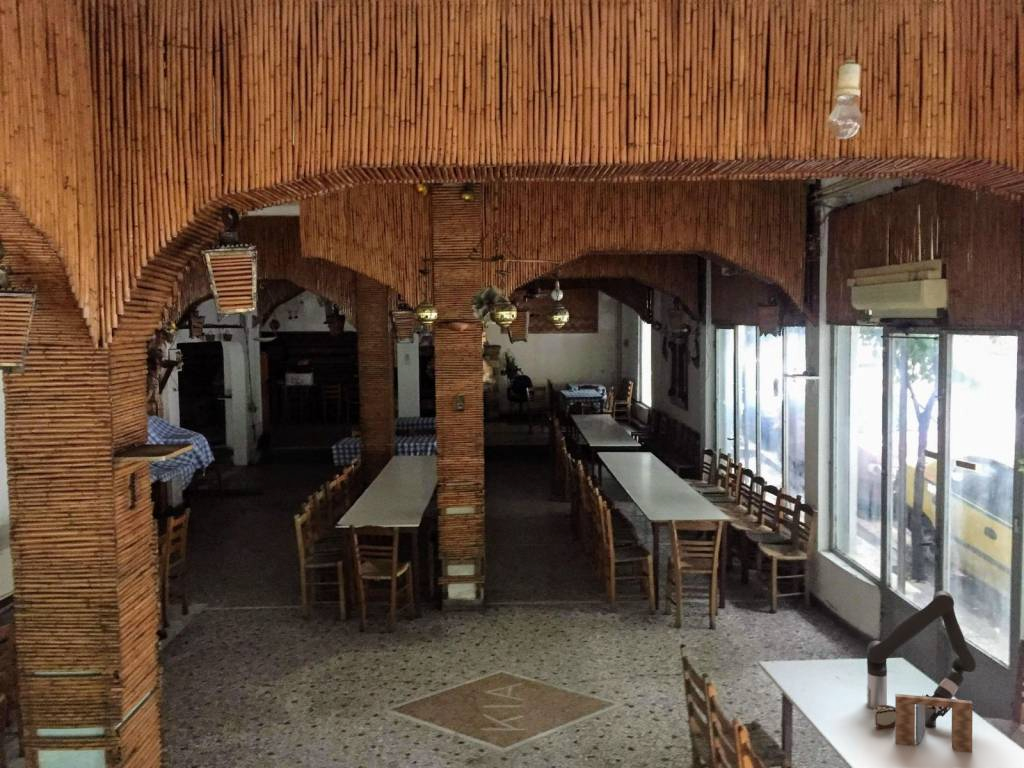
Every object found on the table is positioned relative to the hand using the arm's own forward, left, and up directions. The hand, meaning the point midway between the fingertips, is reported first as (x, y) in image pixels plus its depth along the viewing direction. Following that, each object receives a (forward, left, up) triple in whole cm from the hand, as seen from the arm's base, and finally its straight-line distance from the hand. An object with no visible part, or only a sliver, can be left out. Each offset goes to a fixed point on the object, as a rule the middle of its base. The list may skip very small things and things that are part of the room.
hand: (926, 717), depth 414 cm
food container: (-21, -6, -5) cm, 22 cm away
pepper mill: (+1, +1, -4) cm, 5 cm away
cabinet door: (-6, -14, -4) cm, 16 cm away
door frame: (-1, -21, -4) cm, 22 cm away
